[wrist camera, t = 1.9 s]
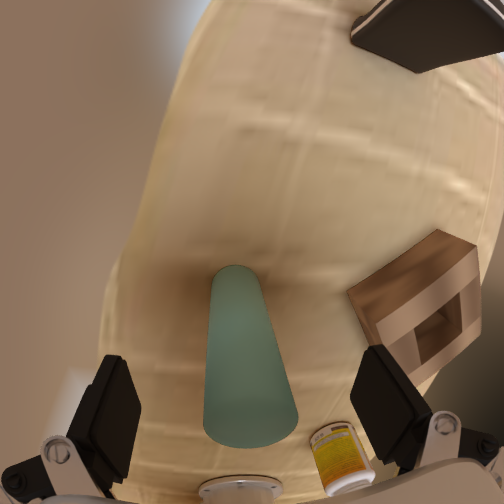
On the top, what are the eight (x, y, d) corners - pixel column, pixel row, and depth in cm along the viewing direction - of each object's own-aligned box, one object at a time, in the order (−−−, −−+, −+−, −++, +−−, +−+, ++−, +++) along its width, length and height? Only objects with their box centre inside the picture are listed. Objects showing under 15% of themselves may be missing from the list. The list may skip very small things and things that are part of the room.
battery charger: (420, 42, 15) (514, 6, 4) (420, 77, 16) (527, 51, 5) (348, 8, 14) (429, -65, 3) (346, 44, 15) (442, -27, 4)
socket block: (377, 365, 24) (399, 398, 19) (346, 291, 21) (375, 323, 16) (451, 310, 23) (480, 333, 19) (437, 229, 20) (476, 245, 15)
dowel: (228, 315, 21) (236, 456, 9) (202, 280, 20) (183, 416, 8) (267, 293, 20) (312, 427, 9) (243, 256, 19) (271, 380, 8)
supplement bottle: (299, 441, 27) (319, 511, 17) (335, 415, 26) (365, 488, 16) (327, 449, 28) (349, 511, 19) (361, 425, 27) (391, 488, 18)
